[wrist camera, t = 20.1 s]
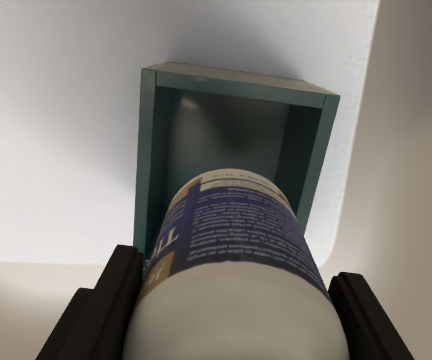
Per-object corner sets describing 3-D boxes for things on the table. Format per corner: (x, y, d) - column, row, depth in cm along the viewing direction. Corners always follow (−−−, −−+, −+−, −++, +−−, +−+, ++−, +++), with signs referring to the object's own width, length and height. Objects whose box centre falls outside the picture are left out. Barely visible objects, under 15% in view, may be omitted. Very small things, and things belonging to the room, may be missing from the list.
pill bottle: (165, 160, 13) (48, 398, 4) (300, 168, 13) (464, 421, 4) (166, 273, 15) (85, 597, 6) (283, 279, 15) (370, 612, 6)
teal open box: (166, 61, 26) (141, 68, 17) (303, 80, 26) (341, 95, 18) (155, 208, 30) (131, 268, 22) (272, 222, 31) (290, 287, 22)
